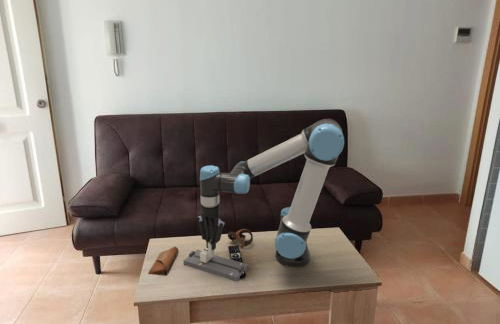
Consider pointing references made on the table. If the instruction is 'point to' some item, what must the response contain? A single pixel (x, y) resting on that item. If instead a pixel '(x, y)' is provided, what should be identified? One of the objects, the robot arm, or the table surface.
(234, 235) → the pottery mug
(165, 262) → the sunglasses case
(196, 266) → the grey slotted slider track
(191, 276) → the table surface
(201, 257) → the fader
